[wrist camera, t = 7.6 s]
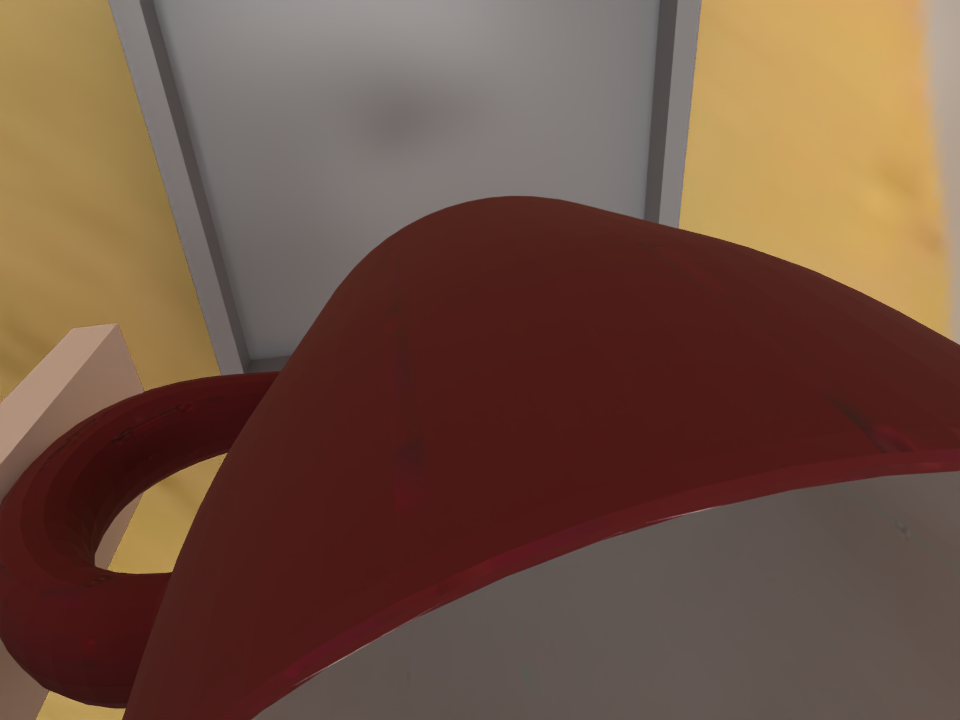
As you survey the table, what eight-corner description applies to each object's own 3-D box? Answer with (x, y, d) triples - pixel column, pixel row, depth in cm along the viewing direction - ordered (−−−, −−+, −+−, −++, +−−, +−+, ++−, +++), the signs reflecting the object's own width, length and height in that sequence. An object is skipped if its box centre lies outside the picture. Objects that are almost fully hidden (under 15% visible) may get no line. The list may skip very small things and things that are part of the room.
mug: (226, 524, 14) (11, 1283, 6) (71, 173, 10) (-1359, 910, 2) (660, 437, 15) (1046, 983, 7) (669, 81, 11) (1679, 278, 3)
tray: (237, 373, 32) (228, 398, 29) (117, -48, 23) (91, -55, 21) (647, 320, 34) (667, 340, 32) (680, -75, 26) (710, -84, 23)
